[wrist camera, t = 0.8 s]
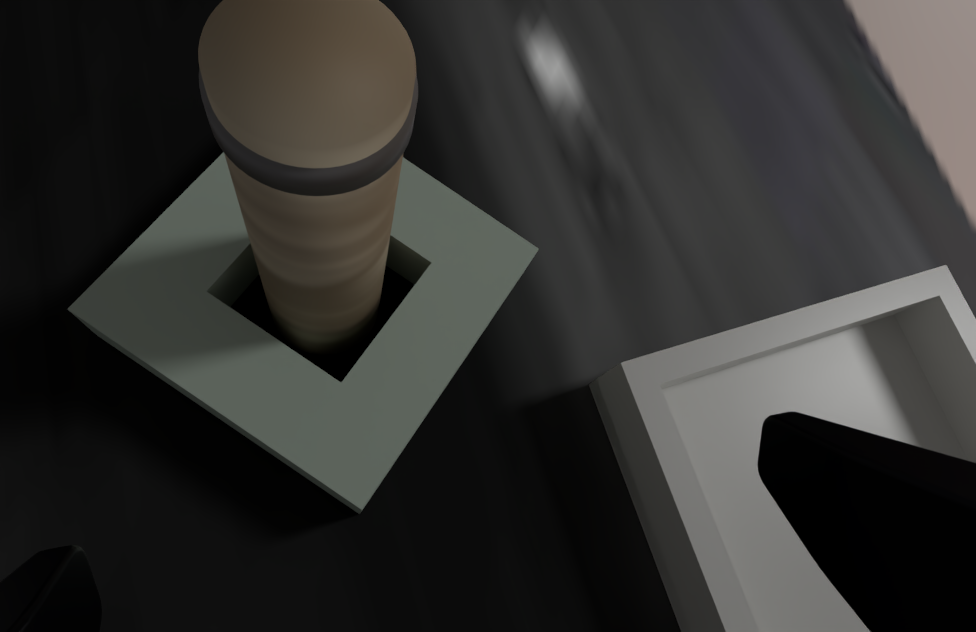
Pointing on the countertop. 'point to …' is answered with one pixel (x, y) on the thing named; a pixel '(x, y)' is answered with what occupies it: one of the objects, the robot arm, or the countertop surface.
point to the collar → (280, 370)
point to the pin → (313, 151)
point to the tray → (737, 432)
